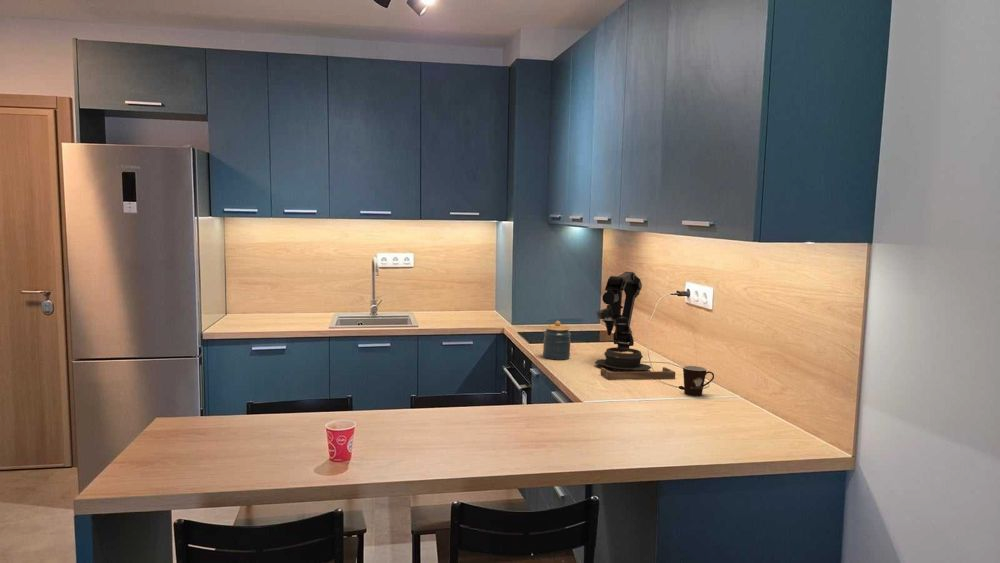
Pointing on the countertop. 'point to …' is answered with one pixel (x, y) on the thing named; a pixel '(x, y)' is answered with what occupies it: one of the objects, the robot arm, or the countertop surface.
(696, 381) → the coffee mug
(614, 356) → the casserole
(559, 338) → the canister
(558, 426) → the countertop surface
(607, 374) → the stop frame
